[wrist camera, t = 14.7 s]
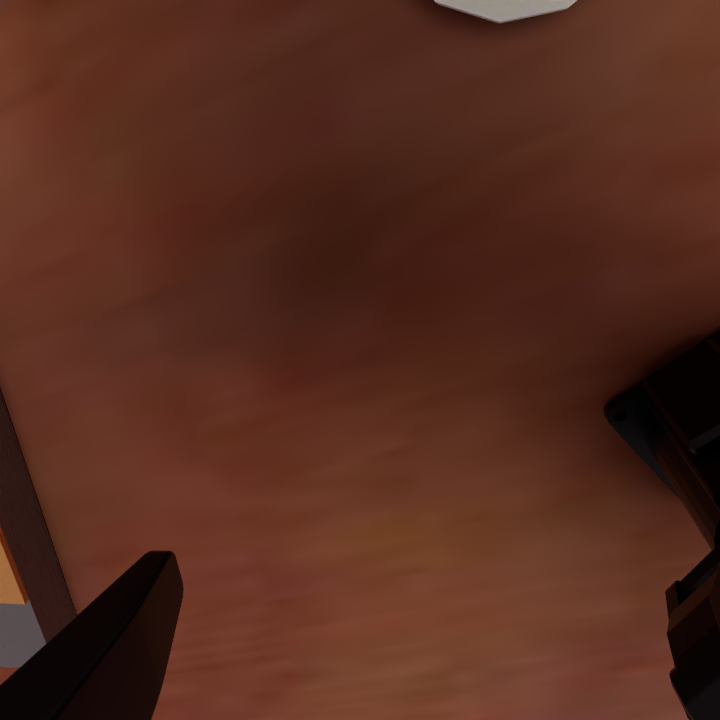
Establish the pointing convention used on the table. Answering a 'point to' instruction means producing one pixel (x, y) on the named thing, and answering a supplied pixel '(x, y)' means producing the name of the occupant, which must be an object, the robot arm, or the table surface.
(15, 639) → the grey peg hole board
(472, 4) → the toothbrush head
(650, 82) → the table surface
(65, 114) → the table surface
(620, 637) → the table surface
